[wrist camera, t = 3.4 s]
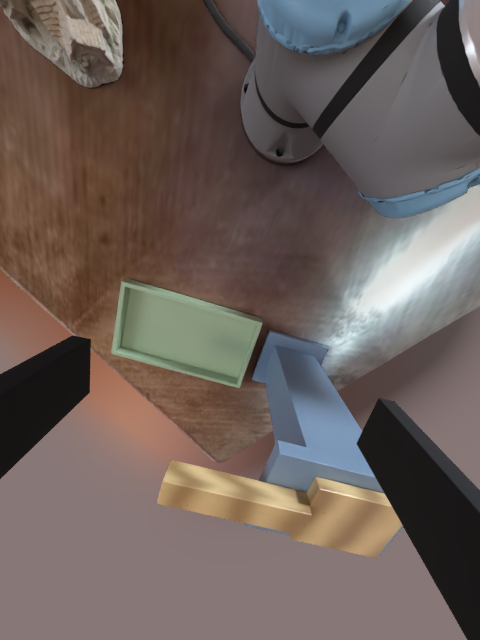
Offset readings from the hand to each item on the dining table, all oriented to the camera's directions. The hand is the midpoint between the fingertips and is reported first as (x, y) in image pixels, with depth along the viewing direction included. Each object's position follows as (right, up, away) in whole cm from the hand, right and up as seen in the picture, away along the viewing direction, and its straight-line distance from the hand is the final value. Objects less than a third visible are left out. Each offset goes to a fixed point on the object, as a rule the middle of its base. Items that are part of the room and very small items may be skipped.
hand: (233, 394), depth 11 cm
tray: (-11, +1, +38) cm, 40 cm away
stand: (+9, -5, +40) cm, 42 cm away
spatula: (+4, -13, +11) cm, 18 cm away
